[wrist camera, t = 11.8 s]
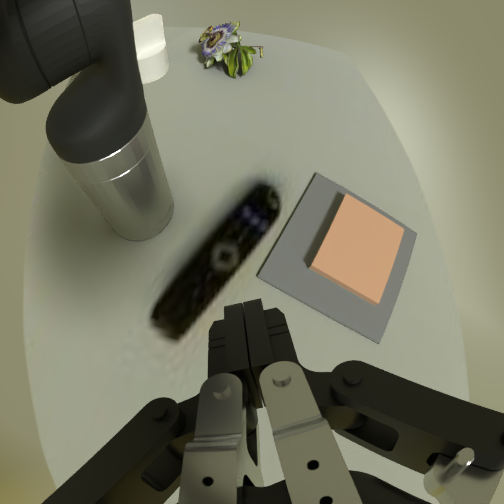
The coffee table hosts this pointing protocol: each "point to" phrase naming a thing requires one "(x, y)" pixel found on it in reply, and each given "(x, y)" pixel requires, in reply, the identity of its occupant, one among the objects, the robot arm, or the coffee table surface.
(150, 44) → the cylinder with rectangular tab
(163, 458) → the robot arm
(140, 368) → the coffee table surface
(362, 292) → the tile
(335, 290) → the mat
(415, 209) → the coffee table surface
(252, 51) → the passion flower
